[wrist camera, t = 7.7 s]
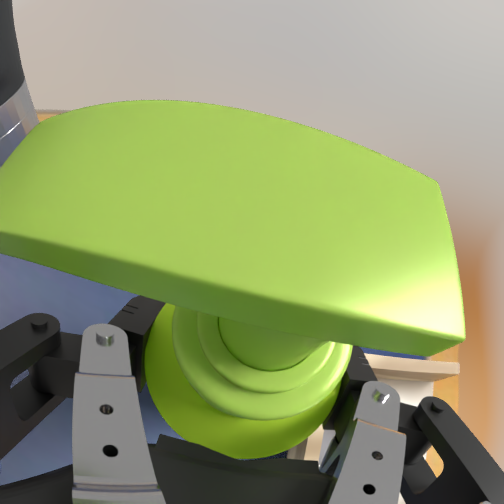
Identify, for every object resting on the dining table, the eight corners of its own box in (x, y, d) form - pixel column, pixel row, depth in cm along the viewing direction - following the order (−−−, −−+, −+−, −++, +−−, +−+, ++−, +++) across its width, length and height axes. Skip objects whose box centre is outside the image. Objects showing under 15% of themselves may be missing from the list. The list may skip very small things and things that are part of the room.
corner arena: (303, 357, 28) (321, 346, 23) (431, 372, 28) (459, 362, 24) (274, 511, 20) (287, 529, 15) (414, 502, 20) (442, 509, 16)
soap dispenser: (182, 339, 21) (101, 39, 4) (275, 360, 21) (481, 127, 4) (162, 415, 18) (-121, 365, 1) (260, 437, 18) (541, 510, 1)
